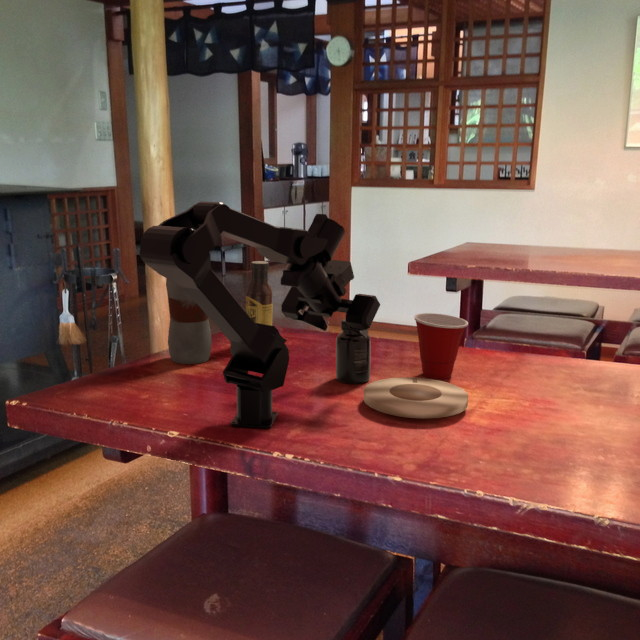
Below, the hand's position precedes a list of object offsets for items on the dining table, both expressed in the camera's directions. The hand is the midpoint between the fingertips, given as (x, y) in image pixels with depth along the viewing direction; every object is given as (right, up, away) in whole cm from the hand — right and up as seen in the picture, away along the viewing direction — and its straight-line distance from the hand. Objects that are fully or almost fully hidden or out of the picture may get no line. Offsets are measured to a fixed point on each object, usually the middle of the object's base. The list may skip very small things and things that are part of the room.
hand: (345, 332), depth 128 cm
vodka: (-33, -6, +17) cm, 38 cm away
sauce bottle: (-19, -4, +31) cm, 36 cm away
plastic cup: (+19, -9, +8) cm, 23 cm away
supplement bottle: (+2, -10, +4) cm, 11 cm away
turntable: (+12, -13, -11) cm, 20 cm away
